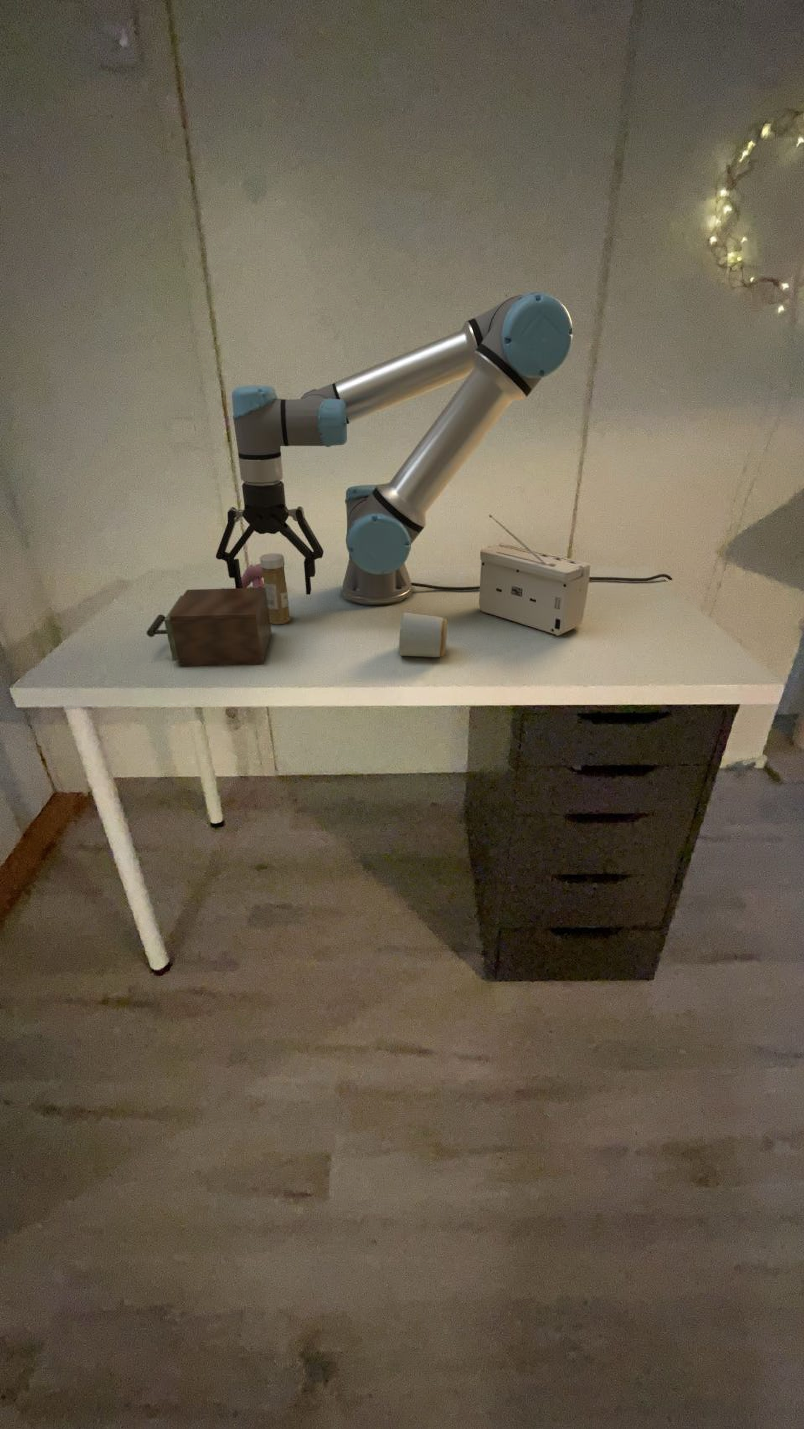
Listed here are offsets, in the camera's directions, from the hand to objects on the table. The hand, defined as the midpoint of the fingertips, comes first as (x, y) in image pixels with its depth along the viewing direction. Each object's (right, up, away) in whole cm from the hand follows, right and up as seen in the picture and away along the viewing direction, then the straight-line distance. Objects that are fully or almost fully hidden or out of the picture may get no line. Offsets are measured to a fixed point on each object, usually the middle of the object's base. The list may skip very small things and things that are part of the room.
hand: (274, 592), depth 129 cm
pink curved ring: (-6, +3, +18) cm, 19 cm away
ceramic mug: (+29, -13, -10) cm, 33 cm away
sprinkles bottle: (0, -5, +3) cm, 6 cm away
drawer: (-11, -11, -9) cm, 18 cm away
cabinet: (-7, -12, -8) cm, 16 cm away
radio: (+51, -5, +2) cm, 51 cm away
